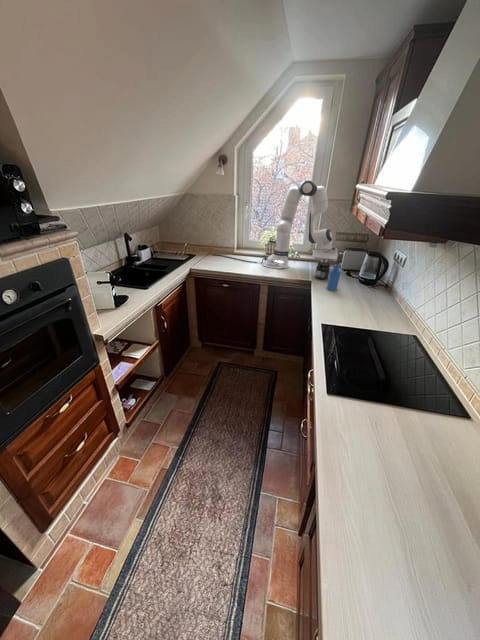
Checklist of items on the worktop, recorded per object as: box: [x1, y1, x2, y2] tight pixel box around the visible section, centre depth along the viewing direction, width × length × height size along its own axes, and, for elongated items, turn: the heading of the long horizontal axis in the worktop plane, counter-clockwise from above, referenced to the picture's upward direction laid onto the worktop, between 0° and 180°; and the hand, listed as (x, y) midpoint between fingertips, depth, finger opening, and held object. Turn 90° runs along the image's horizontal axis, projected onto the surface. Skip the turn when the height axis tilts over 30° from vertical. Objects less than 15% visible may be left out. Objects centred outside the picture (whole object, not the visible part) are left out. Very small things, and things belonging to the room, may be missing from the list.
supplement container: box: [314, 261, 331, 281], centre depth 200 cm, size 10×10×12 cm
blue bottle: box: [326, 263, 342, 292], centre depth 179 cm, size 7×7×18 cm
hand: (323, 264), depth 210 cm, fingers closed
